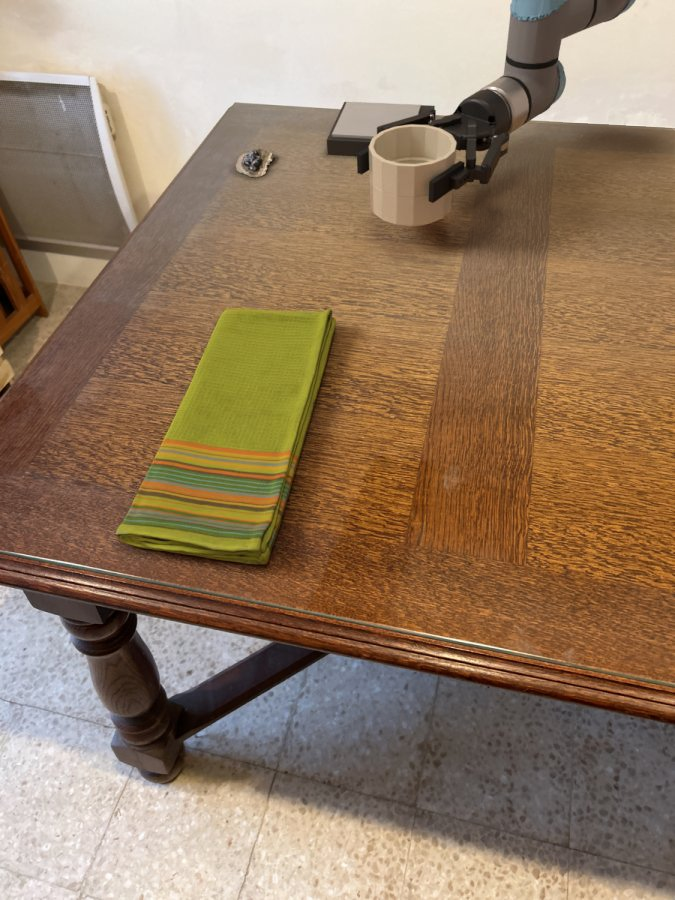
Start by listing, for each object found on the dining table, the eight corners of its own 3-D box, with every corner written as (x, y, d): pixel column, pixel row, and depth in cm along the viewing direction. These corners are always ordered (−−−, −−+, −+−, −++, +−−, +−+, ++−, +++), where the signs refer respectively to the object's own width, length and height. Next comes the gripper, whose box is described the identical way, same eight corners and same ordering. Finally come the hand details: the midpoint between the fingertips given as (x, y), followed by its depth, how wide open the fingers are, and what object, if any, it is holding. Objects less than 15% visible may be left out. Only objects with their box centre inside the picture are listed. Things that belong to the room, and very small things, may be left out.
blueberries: (274, 151, 120) (272, 140, 118) (278, 174, 115) (277, 163, 113) (234, 156, 119) (232, 145, 118) (237, 180, 114) (235, 169, 113)
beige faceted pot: (455, 188, 101) (460, 126, 94) (446, 232, 94) (450, 168, 87) (378, 184, 103) (377, 122, 96) (364, 226, 96) (362, 163, 89)
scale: (434, 120, 124) (435, 102, 122) (423, 159, 115) (423, 141, 113) (344, 115, 127) (344, 98, 124) (327, 154, 118) (326, 136, 116)
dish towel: (117, 549, 69) (107, 531, 67) (222, 316, 92) (218, 296, 89) (268, 571, 67) (264, 552, 64) (339, 326, 89) (337, 306, 87)
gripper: (557, 164, 100) (466, 234, 90) (423, 120, 111) (329, 177, 101) (568, 110, 94) (471, 178, 84) (425, 69, 105) (325, 125, 95)
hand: (393, 178), depth 92 cm, fingers closed on beige faceted pot, 11 cm apart
